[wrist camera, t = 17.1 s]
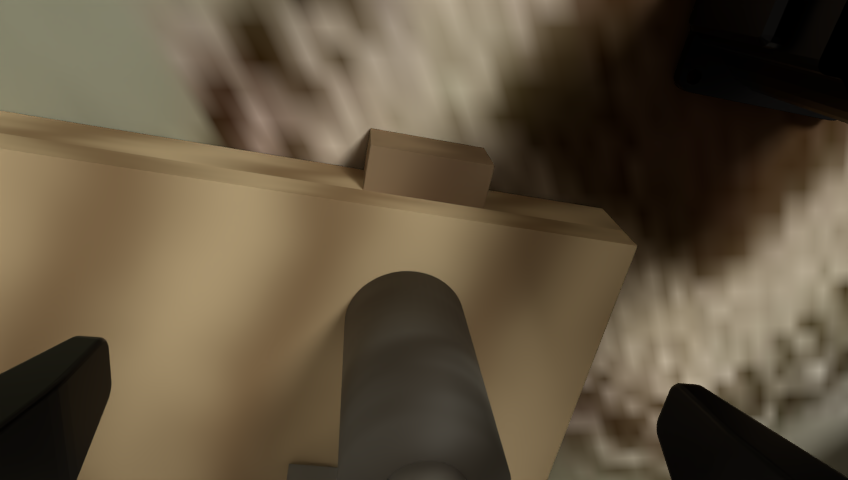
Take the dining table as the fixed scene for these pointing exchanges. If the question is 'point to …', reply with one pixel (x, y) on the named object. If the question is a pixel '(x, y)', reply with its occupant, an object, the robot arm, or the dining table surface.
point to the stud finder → (311, 472)
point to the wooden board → (283, 288)
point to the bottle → (413, 387)
